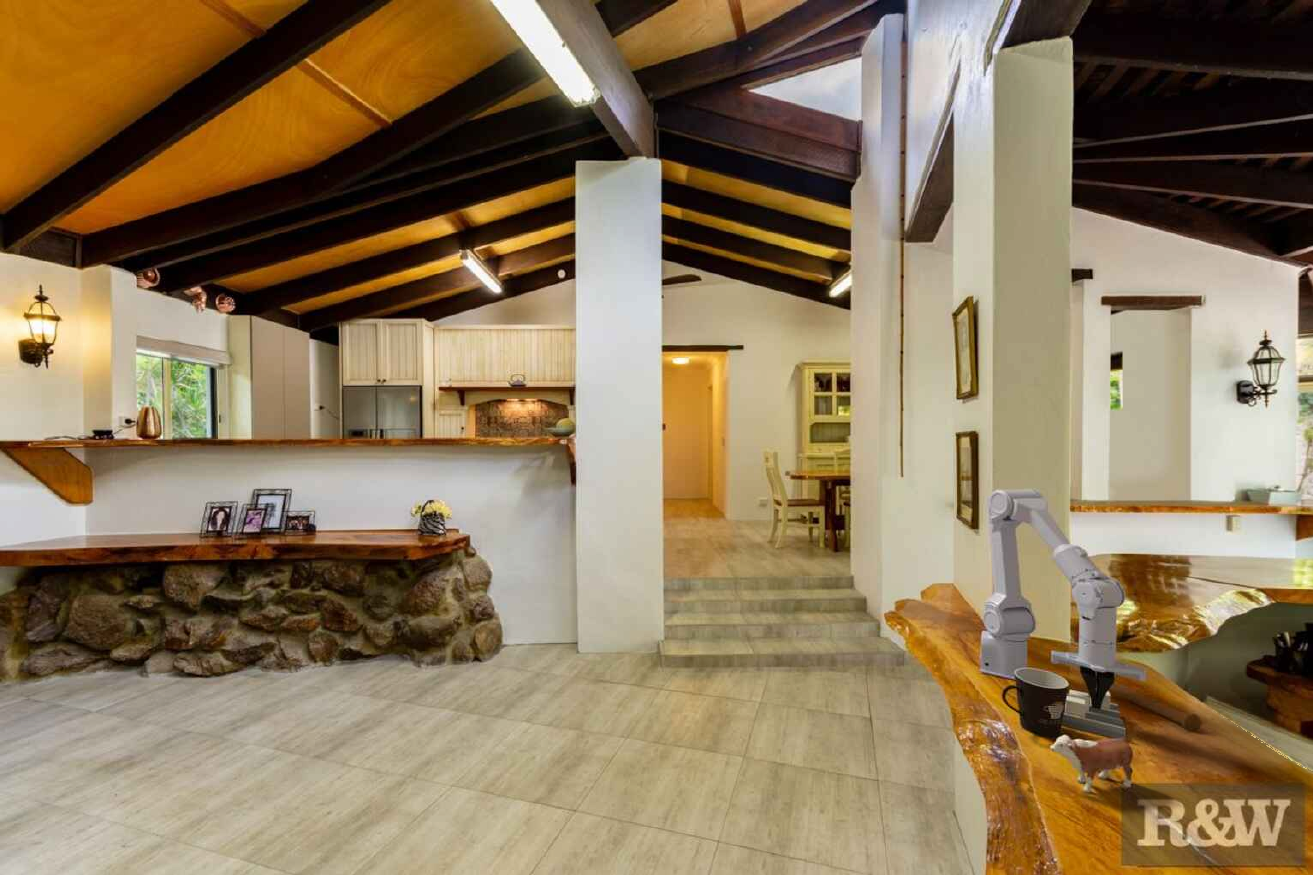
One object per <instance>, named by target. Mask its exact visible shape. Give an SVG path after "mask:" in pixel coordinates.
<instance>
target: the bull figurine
mask: <svg viewBox="0 0 1313 875" xmlns="http://www.w3.org/2000/svg"><path fill="white" fill-rule="evenodd" d="M1050 750H1051V752H1053V753H1055V754H1059V755H1061V756H1062V757H1063V758H1065V759H1068V760H1069V764H1071V766H1072V767H1073V768H1075V769H1076V771H1077V772H1078V773H1079V776H1078V777H1077V779H1076V781H1077V783H1078V784H1079V783H1080V784H1084V783H1085V782H1086V783H1085V784H1084V787H1083V788H1082V789H1081V790H1082V792H1084V793H1085V794H1088V795H1089V794H1091V792H1092V791H1093V789H1092V785H1091V784H1092V783H1093V782H1094V778H1095V776H1096V774H1097V772H1098V771H1101V772H1099V774H1098V776H1097V778H1098V779H1100V780H1106V778H1108V777H1109V771H1113V772H1114V771H1116V770H1120V769H1121V767H1122V770H1123V772H1124V773H1125V779H1124V781H1123V783H1122V786H1123V787H1125V788H1126V789H1130V788H1131V785H1132V784H1133V783H1132V774H1133V772H1134V770H1133V769H1132V766H1131V764H1132V761H1133V757H1134V750H1133V748H1132V746H1131V745H1130V743H1129V742H1128V740H1127V739H1126V738H1125V739H1123V738H1118V739H1117V738H1102V739H1099V740H1098V739H1097V740H1088V739H1087V740H1085V739H1084V740H1083V739H1081V738H1077V739H1071V737H1069V735H1067V734H1063V735H1061V736H1059V737H1056V741H1055V742H1054V743H1053V744H1051V745H1050ZM1085 774H1087V775H1085Z"/></svg>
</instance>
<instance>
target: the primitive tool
mask: <svg viewBox="0 0 1313 875" xmlns="http://www.w3.org/2000/svg"><path fill="white" fill-rule="evenodd" d="M1108 691H1109V693H1110V694H1113V695H1117V696H1118V697H1121V698H1123V699H1125V700H1127V701H1129V702H1130V703H1131V702H1132V703H1133V704H1136V705H1137V706H1140V707H1142V708H1144V709H1147V711H1150V712H1152V713H1154V714H1157V715H1160V716H1162V717H1164V718H1166V719H1168V720H1170V721H1172V722H1174V723H1175V724H1176V723H1177V724H1178V725H1180V726H1182V727H1183V729H1185V730H1186V731H1188V732H1199V731H1200V730H1201V728H1202V726H1203V722H1202V721H1201V717H1200V716H1199V715H1197V714H1196V713H1188V712H1184V711H1183V710H1179V709H1178V708H1174V707H1172V706H1169V705H1167V704H1165V703H1162V702H1160V701H1159V700H1156V699H1153V698H1150V697H1149V696H1146V695H1144V694H1142V693H1139V692H1138V691H1136V690H1135V689H1131V687H1130V686H1128V685H1124V684H1122V683H1119V682H1114V683H1113V685H1112V686H1111V687H1110V688H1109V690H1108Z"/></svg>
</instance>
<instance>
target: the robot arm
mask: <svg viewBox="0 0 1313 875" xmlns="http://www.w3.org/2000/svg"><path fill="white" fill-rule="evenodd" d="M986 500H987V502H986V503H987V511H988V514H987V515H988V521H987V522H988V532H989V544H990V545H989V546H990V554H991V555H990V556H991V558H990V559H991V568H992V577H993V579H992V580H993V590H994V592H993V594H992V595H991V596H990V597H988V598H987V599H986V600H985V601H984V611H983V615H982V622H983V624H984V628H985V629H986V630H982V631H981V637H980V638H981V639H980V653H979V661H980V672H981V673H982V674H986V675H993V676H997V677H1000V678H1004V679H1005V678H1006V679H1008V680H1009V679H1010V680H1014V681H1015V674H1014V671H1015V670H1016V669H1019V668H1028V639H1030V638H1031V634H1032V633H1034V632H1035V630H1036V629H1037V619H1036V617H1035V614H1034V612H1033V609H1032V603H1031V602H1030V601H1029V600H1028V599H1026V598H1025V597H1024V595H1022V588H1021V587H1022V586H1021V577H1020V576H1021V575H1020V565H1019V564H1020V563H1019V555H1018V554H1019V552H1018V542H1017V530H1016V529H1017V528H1018V526H1020V525H1021V524H1022V523H1024V524H1028V525H1030V526H1031V528H1033V530H1034V531H1035V532H1036V533H1037V534H1038V535H1039V536H1040V538H1041V539H1042V540H1043V541H1044V542H1045V543H1046V544H1047V546H1049V548H1050V549H1051V551H1053V555H1052V561H1053V562H1054V564H1056V566H1057V567H1058V569H1059V571H1061V572H1062V574H1063V575H1064V576H1065V578H1066V579H1067V580H1068V582H1069V583H1070V584H1071V586H1072V587H1073V588H1072V589H1071V596H1072V598H1073V599H1074V601H1075V603H1076V611H1077V612H1078V615H1079V619H1078V620H1079V621H1078V622H1079V623H1078V624H1079V625H1078V626H1079V628H1078V653H1075V652H1064V651H1063V652H1062V651H1056V650H1051V663H1052V664H1056V665H1058V664H1061V665H1066V666H1071V667H1076V668H1079V671H1080V672H1079V673H1080V675H1081V677H1082V679H1083V681H1084V683H1085V685H1086V688H1087V690H1088V694H1089V698H1090V697H1091V705H1092V708H1096V709H1101V705H1102V702H1103V699H1104V697H1105V695H1106V693H1107V691H1108V690H1109V688H1110V687H1111V686H1112V685H1113V683H1115V681H1116V677H1115V675H1117V676H1121V677H1126V678H1131V679H1135V680H1136V679H1137V680H1138V681H1140V682H1144V683H1146V682H1147V671H1146V669H1145V668H1144V667H1139V666H1136V665H1132V664H1127V663H1123V662H1120V661H1117V660H1116V659H1117V656H1116V655H1117V654H1116V653H1117V616H1118V614H1117V611H1118V608H1119V607H1121V606H1123V604H1124V602H1125V600H1126V594H1125V590H1124V588H1123V587H1122V585H1121V583H1120V582H1119V580H1117V579H1115V578H1113V577H1111V576H1108V575H1107V574H1106V573H1104V572H1103V571H1101V570H1100V568H1098V566H1097V565H1096V564H1095V563H1094V561H1093V560H1092V559H1091V558H1090V557H1089V555H1088V552H1087V550H1086V549H1085V548H1082V547H1081V546H1078V545H1074V544H1071V542H1070V540H1068V538H1067V537H1066V535H1065V533H1064V532H1063V530H1061V528H1060V526H1059V524H1058V523H1057V522H1056V521H1055V519H1054V518H1053V516H1052V515H1051V513H1050V512H1049V510H1048V507H1049V503H1048V501H1047V500H1046V499H1045V498H1044V496H1043V495H1042V493H1041V492H1040V491H1039V490H1037V489H1035V488H1026V489H1024V488H1023V489H1021V488H1020V489H1003V488H1002V489H999V488H997V489H996V490H994V491H993V492H992V493H991V494H990V495H989V496H988V497H987V498H986Z"/></svg>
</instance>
